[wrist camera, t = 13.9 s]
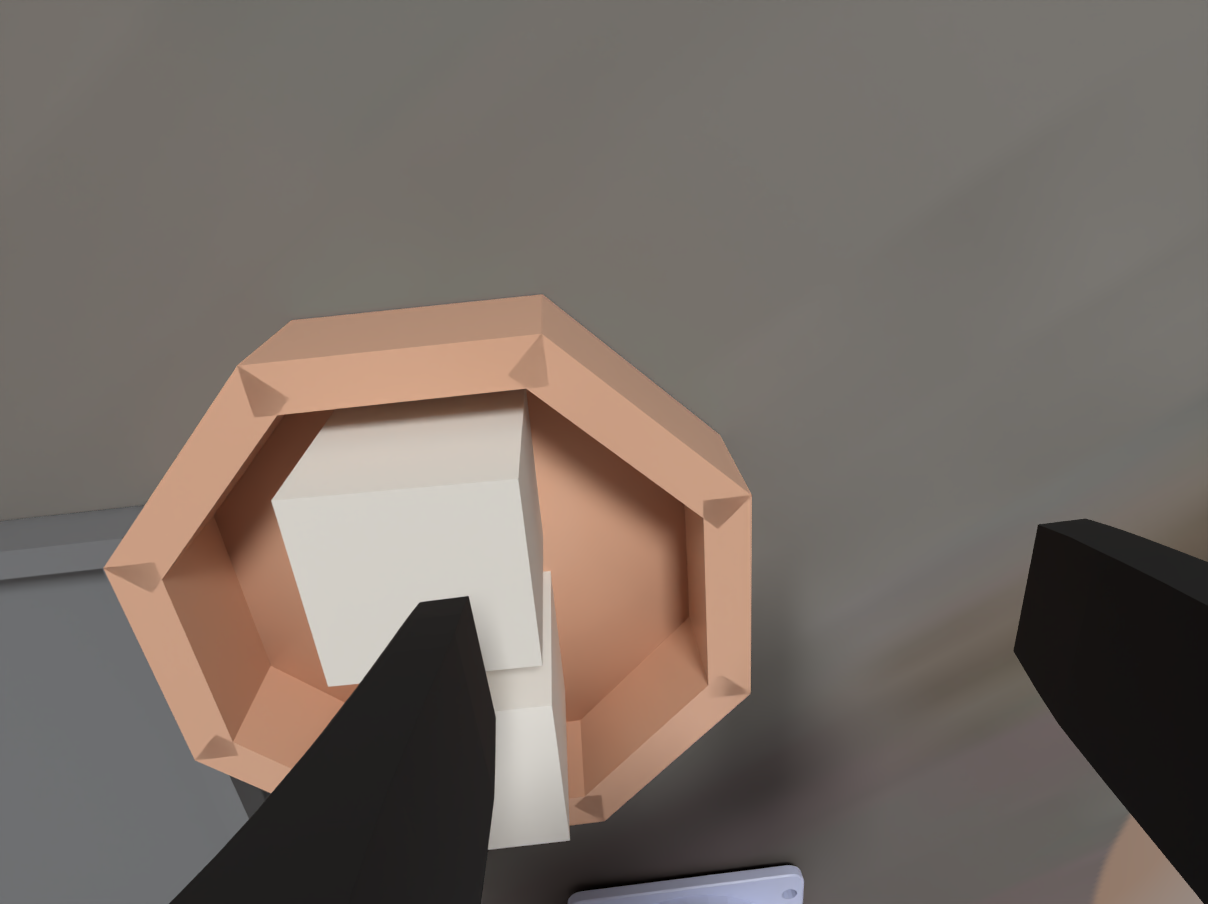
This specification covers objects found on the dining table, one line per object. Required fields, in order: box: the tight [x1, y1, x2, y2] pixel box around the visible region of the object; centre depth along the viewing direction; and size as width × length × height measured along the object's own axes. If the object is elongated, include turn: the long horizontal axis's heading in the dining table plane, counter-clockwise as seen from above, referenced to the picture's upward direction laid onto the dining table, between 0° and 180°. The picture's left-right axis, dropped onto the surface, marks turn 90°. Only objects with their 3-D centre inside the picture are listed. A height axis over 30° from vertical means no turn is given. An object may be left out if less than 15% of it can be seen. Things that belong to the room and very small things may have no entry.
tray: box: [0, 505, 271, 904], centre depth 20 cm, size 16×13×2 cm
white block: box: [486, 571, 570, 850], centre depth 17 cm, size 4×4×4 cm
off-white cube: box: [271, 389, 543, 687], centre depth 15 cm, size 4×4×4 cm
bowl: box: [103, 294, 752, 826], centre depth 17 cm, size 13×13×3 cm
